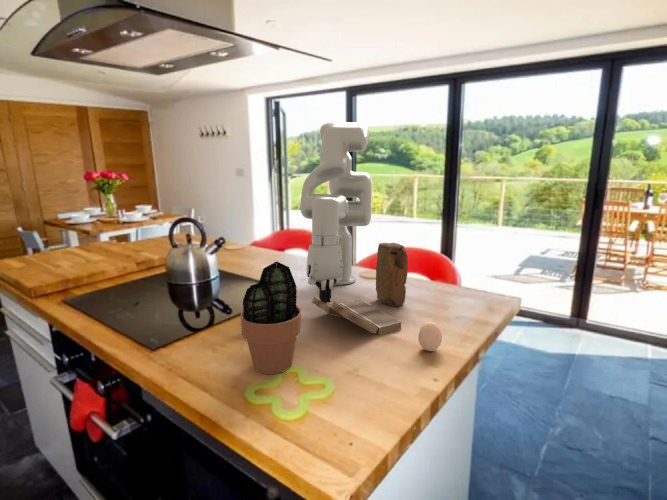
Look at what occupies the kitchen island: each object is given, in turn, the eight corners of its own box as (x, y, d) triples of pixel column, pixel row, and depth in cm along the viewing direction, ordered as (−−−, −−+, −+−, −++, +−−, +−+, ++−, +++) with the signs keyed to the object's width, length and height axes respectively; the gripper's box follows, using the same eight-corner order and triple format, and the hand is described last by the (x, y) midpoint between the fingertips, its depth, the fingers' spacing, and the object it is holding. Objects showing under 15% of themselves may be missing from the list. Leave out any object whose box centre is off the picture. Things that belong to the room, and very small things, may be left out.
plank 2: (330, 307, 110) (334, 301, 110) (354, 320, 115) (357, 315, 115) (349, 320, 101) (353, 313, 101) (374, 334, 106) (378, 327, 107)
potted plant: (251, 350, 98) (246, 254, 92) (304, 350, 98) (303, 254, 92) (236, 379, 85) (229, 270, 79) (298, 381, 84) (296, 270, 79)
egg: (430, 358, 95) (432, 329, 93) (412, 348, 99) (414, 321, 97) (445, 351, 98) (447, 323, 96) (427, 342, 102) (429, 315, 101)
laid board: (339, 309, 125) (339, 303, 124) (359, 305, 128) (360, 299, 128) (379, 334, 107) (379, 327, 107) (400, 328, 111) (401, 321, 110)
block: (373, 298, 135) (375, 241, 131) (392, 295, 138) (394, 240, 133) (389, 308, 125) (391, 248, 121) (409, 305, 128) (412, 246, 124)
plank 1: (311, 302, 119) (313, 296, 119) (337, 309, 124) (339, 303, 124) (327, 313, 110) (330, 307, 110) (354, 320, 115) (357, 314, 115)
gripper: (341, 236, 117) (340, 294, 121) (295, 240, 110) (296, 301, 114) (354, 240, 111) (353, 301, 115) (307, 244, 104) (307, 309, 108)
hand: (325, 301), depth 114 cm, fingers closed
